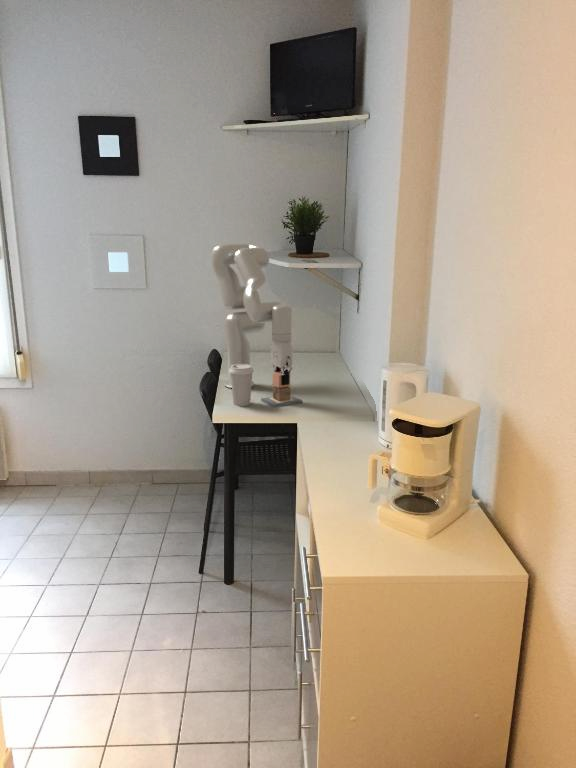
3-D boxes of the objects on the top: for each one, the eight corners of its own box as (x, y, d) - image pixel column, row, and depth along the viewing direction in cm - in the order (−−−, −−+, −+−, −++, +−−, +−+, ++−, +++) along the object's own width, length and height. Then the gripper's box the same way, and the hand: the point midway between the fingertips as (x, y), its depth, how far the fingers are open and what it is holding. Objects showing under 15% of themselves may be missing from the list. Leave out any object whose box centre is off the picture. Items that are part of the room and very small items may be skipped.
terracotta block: (272, 384, 257) (272, 372, 255) (283, 383, 259) (283, 371, 258) (278, 387, 252) (278, 375, 251) (290, 386, 255) (290, 373, 254)
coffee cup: (229, 400, 259) (229, 363, 255) (253, 400, 260) (253, 363, 256) (229, 407, 250) (228, 369, 246) (254, 407, 250) (253, 369, 246)
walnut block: (272, 398, 258) (272, 386, 257) (283, 396, 260) (284, 384, 259) (279, 401, 254) (279, 389, 253) (290, 399, 256) (290, 387, 255)
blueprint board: (261, 400, 259) (261, 398, 258) (289, 396, 265) (289, 393, 265) (273, 407, 250) (273, 404, 250) (302, 402, 256) (302, 399, 256)
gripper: (262, 334, 256) (263, 379, 261) (284, 341, 242) (284, 389, 247) (279, 332, 260) (279, 377, 264) (301, 340, 246) (301, 386, 250)
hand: (281, 382), depth 255 cm, fingers closed on terracotta block, 4 cm apart
